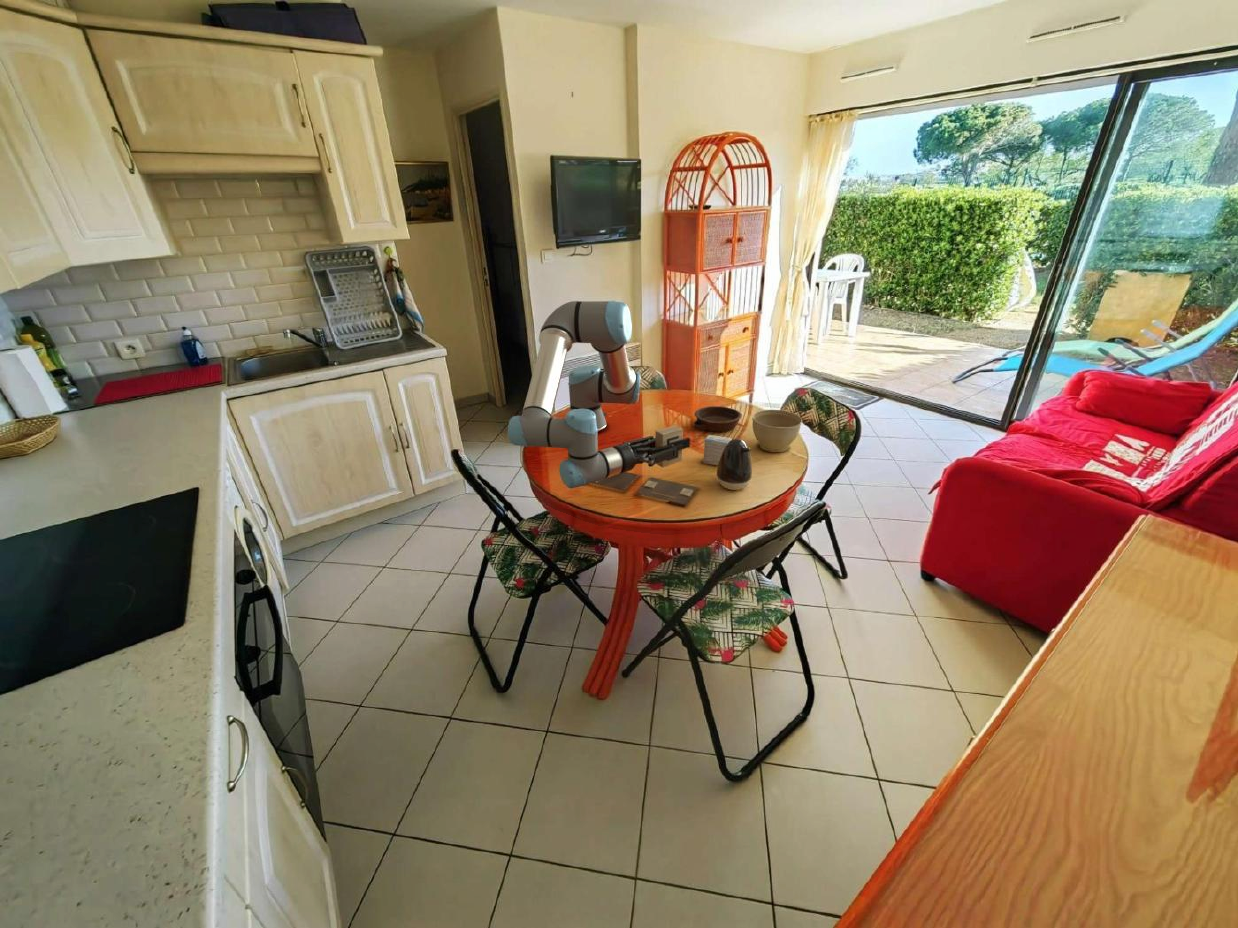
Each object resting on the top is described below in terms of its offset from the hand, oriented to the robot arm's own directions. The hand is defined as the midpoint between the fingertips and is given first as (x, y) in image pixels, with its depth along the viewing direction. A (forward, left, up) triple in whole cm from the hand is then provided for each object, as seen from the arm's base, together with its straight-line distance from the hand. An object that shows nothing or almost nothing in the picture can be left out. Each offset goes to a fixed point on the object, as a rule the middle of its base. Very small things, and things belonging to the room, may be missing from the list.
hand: (683, 439), depth 146 cm
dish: (-4, +50, -15) cm, 53 cm away
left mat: (-21, -6, -15) cm, 26 cm away
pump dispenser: (+14, +6, -15) cm, 22 cm away
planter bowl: (+19, +39, -15) cm, 46 cm away
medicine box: (+5, +19, -15) cm, 25 cm away
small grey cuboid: (-3, -5, -6) cm, 8 cm away
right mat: (-3, -6, -15) cm, 16 cm away
